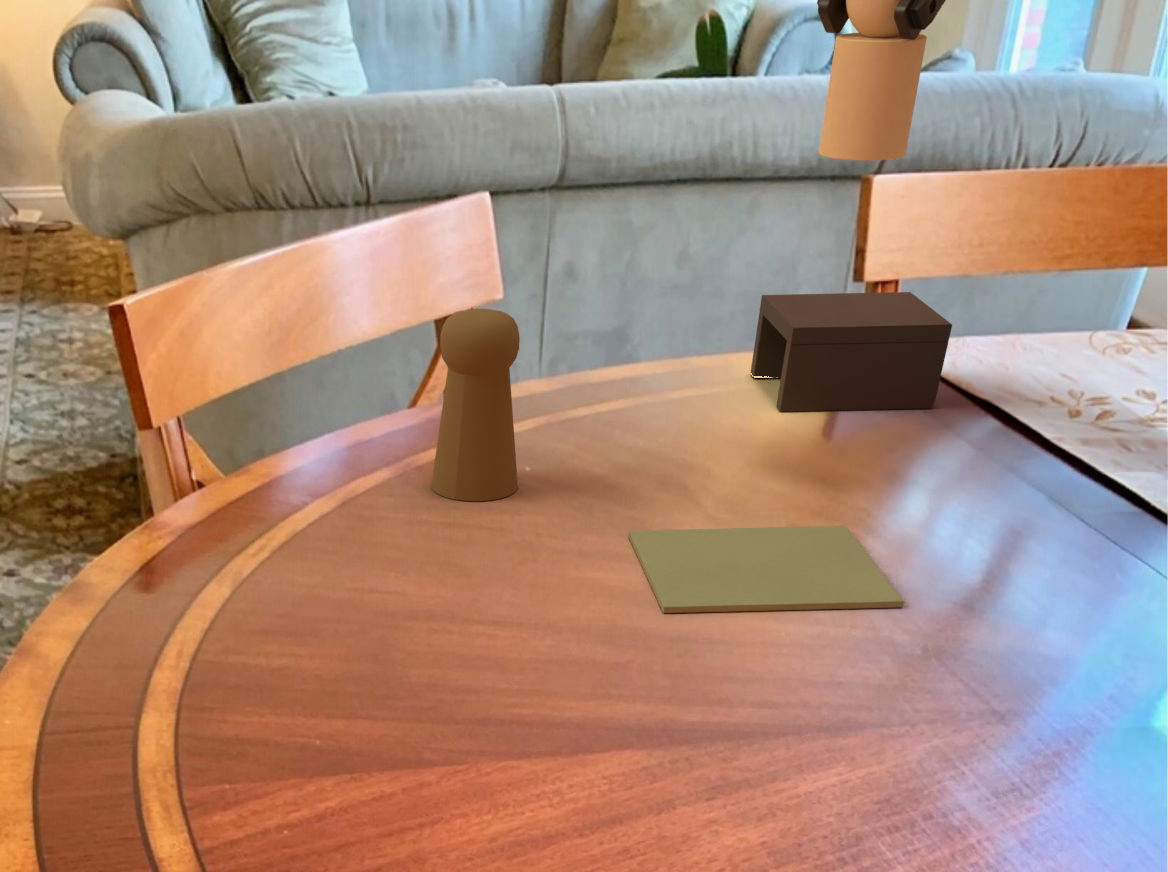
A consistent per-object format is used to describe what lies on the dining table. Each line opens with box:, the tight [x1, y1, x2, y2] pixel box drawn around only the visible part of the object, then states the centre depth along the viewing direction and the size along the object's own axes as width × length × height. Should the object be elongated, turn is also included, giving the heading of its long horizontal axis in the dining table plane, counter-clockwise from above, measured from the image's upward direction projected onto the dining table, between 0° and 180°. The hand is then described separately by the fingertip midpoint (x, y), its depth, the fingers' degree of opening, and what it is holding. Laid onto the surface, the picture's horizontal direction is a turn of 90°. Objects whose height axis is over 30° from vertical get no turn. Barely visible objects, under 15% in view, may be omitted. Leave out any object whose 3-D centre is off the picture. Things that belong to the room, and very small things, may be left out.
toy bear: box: [818, 0, 928, 162], centre depth 88 cm, size 5×5×11 cm
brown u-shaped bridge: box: [750, 291, 953, 413], centre depth 116 cm, size 12×10×6 cm
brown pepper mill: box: [430, 308, 521, 502], centre depth 98 cm, size 6×6×11 cm
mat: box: [628, 525, 905, 614], centre depth 90 cm, size 14×12×1 cm
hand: (865, 24), depth 86 cm, fingers closed on toy bear, 4 cm apart
